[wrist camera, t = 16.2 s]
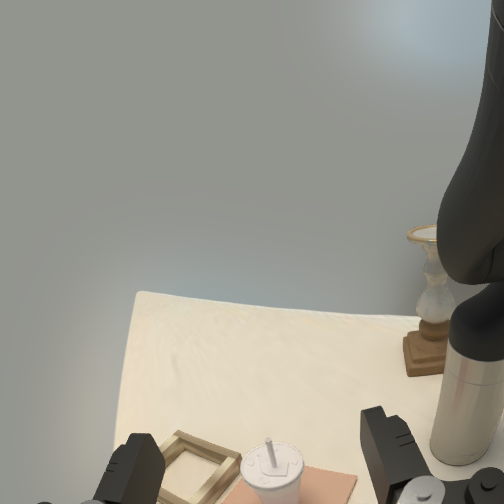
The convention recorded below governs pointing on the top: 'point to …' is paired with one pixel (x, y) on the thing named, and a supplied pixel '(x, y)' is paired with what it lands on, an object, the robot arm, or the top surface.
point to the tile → (305, 489)
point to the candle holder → (429, 311)
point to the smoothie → (274, 472)
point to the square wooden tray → (227, 458)
